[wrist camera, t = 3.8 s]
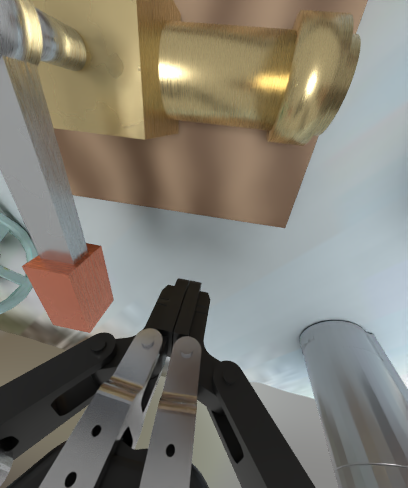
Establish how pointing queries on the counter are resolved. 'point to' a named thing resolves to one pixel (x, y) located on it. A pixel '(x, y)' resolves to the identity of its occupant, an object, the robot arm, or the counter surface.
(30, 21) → the valve lever
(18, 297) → the valve
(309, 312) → the counter surface
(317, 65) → the brass valve
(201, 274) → the counter surface
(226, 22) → the mounting board
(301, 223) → the counter surface
